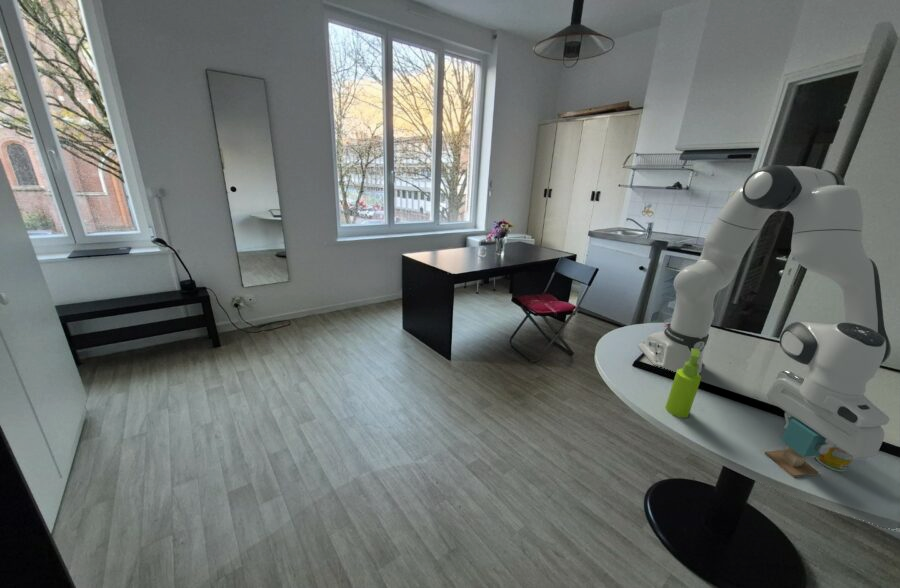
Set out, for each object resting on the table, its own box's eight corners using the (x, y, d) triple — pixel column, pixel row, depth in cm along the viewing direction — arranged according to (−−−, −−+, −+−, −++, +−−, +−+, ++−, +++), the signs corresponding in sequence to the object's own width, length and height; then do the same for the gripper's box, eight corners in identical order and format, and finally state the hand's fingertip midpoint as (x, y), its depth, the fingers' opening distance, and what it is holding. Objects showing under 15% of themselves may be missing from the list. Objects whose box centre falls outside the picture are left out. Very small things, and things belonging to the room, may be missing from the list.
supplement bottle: (813, 450, 88) (829, 421, 84) (843, 461, 85) (861, 431, 81) (816, 464, 84) (833, 434, 81) (847, 476, 81) (866, 445, 77)
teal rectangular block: (780, 440, 84) (790, 419, 82) (798, 438, 85) (809, 417, 82) (803, 457, 79) (814, 435, 77) (822, 454, 80) (834, 433, 78)
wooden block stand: (764, 453, 87) (774, 432, 85) (788, 450, 88) (799, 430, 85) (792, 477, 81) (804, 455, 78) (818, 474, 82) (831, 452, 79)
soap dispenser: (689, 406, 103) (708, 350, 96) (688, 420, 98) (708, 362, 90) (666, 399, 106) (683, 344, 99) (664, 412, 101) (682, 355, 93)
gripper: (770, 367, 85) (752, 411, 90) (874, 427, 66) (843, 478, 72) (792, 366, 86) (772, 409, 91) (901, 424, 67) (868, 475, 72)
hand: (804, 440), depth 81 cm, fingers closed on teal rectangular block, 5 cm apart
